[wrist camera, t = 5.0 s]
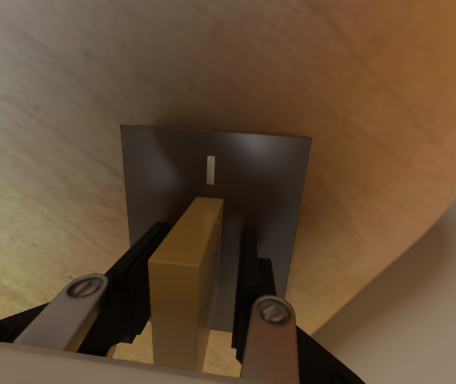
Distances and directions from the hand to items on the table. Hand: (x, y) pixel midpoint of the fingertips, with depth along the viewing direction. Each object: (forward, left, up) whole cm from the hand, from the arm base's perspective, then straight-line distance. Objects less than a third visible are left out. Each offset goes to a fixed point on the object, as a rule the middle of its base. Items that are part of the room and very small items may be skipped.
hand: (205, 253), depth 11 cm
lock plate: (0, 0, -4) cm, 4 cm away
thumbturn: (0, 0, -1) cm, 1 cm away
